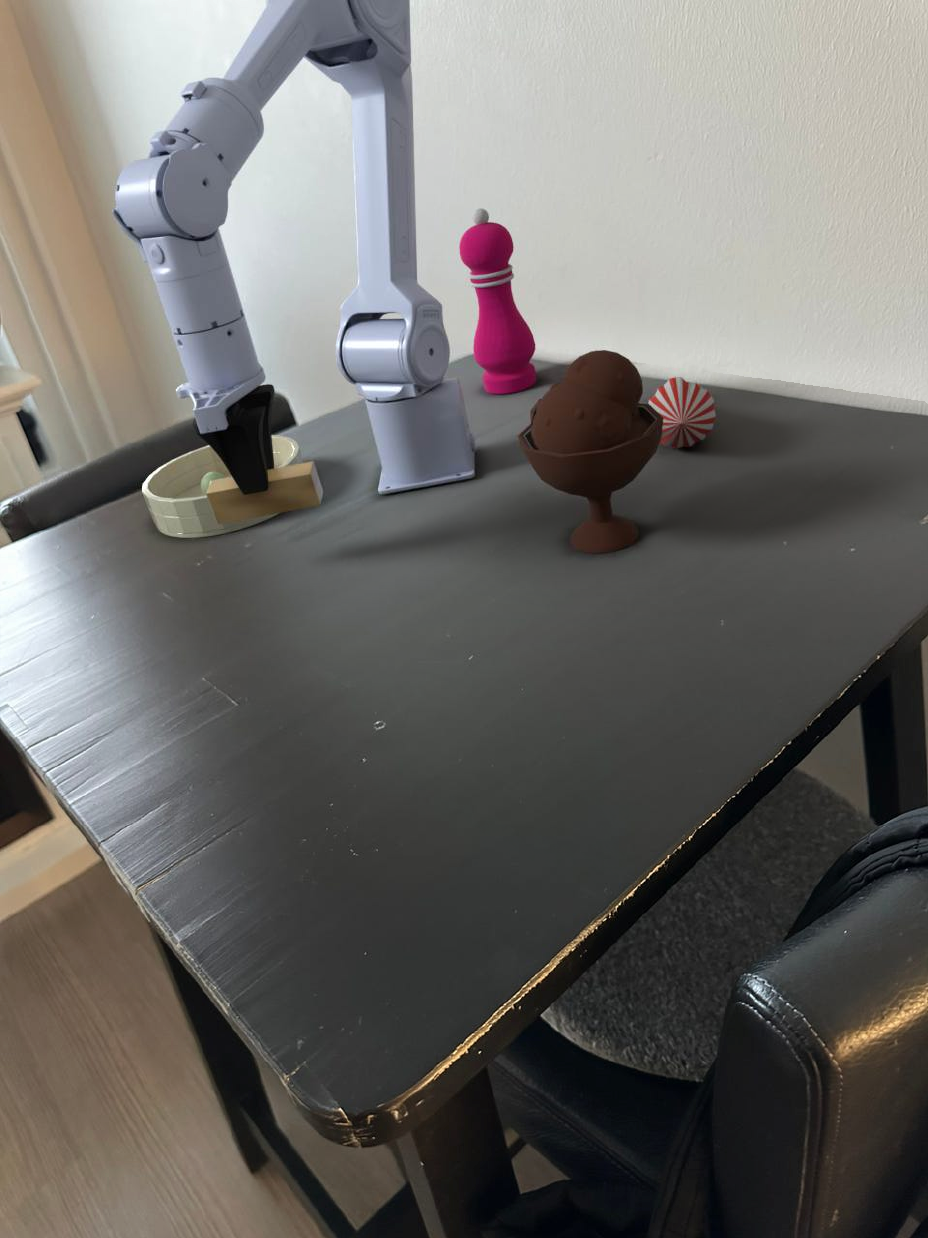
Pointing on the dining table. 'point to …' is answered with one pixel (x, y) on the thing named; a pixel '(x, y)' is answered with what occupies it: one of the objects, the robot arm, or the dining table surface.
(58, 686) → the dining table surface
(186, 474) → the cream round tray
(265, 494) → the wooden block
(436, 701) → the dining table surface
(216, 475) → the ball
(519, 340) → the pepper mill
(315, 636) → the dining table surface
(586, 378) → the ice cream bowl
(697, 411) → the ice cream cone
